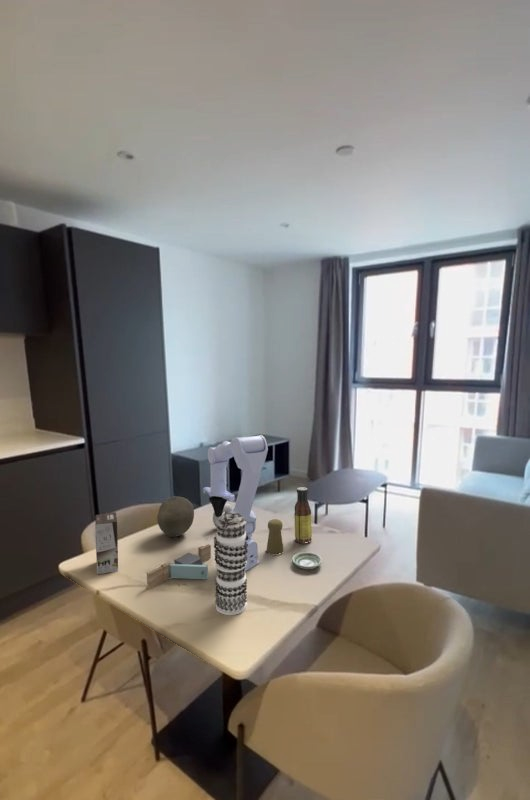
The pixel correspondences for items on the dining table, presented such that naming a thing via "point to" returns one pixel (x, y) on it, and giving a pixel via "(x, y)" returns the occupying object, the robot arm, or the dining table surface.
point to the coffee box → (106, 542)
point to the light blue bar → (188, 571)
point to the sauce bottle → (302, 517)
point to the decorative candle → (231, 564)
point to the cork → (275, 537)
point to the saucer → (306, 560)
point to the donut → (226, 509)
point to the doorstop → (188, 559)
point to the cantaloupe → (175, 516)
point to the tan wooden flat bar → (162, 572)
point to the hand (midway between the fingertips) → (218, 515)
